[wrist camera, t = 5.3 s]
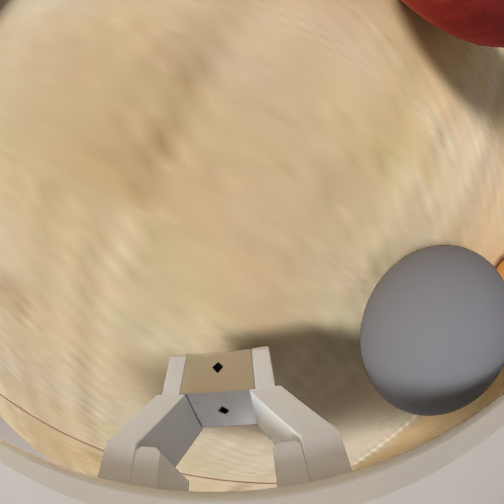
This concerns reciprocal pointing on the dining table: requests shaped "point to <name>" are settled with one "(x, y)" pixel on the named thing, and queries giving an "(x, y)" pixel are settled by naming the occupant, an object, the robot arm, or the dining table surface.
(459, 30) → the onion
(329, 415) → the dining table surface
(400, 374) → the grey rubber ball
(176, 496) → the robot arm
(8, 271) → the dining table surface
